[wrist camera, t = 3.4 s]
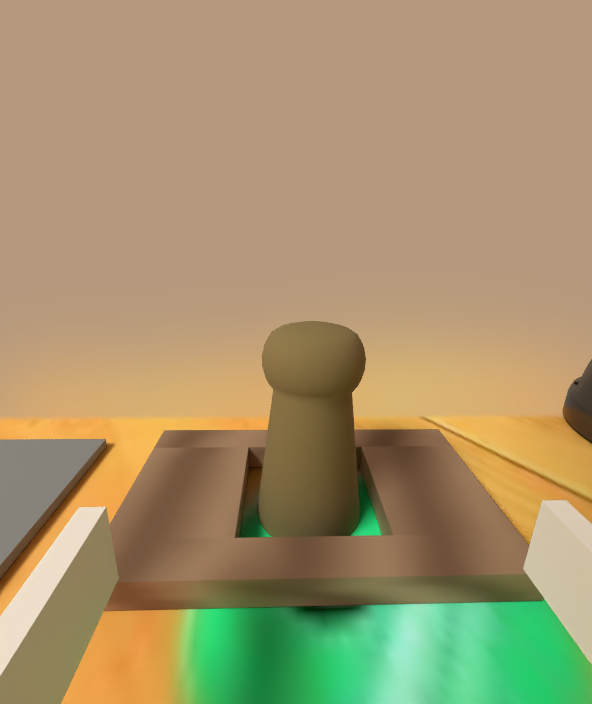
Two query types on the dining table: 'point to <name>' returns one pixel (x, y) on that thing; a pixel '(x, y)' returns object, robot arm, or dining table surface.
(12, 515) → the gray mat
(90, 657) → the dining table surface
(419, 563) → the walnut holder
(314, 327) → the brown tall rounded piece
